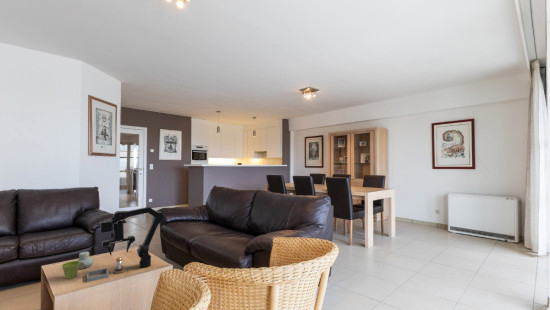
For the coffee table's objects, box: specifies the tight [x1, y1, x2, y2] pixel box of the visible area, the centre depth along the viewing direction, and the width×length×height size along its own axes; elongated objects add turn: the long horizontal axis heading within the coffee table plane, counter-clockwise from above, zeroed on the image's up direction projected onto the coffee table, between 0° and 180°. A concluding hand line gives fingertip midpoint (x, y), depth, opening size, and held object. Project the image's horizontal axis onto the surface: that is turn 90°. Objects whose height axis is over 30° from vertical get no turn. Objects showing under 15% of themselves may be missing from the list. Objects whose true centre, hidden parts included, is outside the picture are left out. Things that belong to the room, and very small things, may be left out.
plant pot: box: [61, 260, 80, 280], centre depth 173 cm, size 9×9×9 cm
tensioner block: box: [109, 266, 129, 277], centre depth 180 cm, size 10×11×2 cm
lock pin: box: [115, 256, 124, 272], centre depth 179 cm, size 4×4×9 cm
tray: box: [86, 267, 110, 283], centre depth 172 cm, size 11×11×3 cm
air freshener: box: [76, 251, 94, 270], centre depth 190 cm, size 11×8×10 cm
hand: (119, 253), depth 179 cm, fingers open, 9 cm apart
